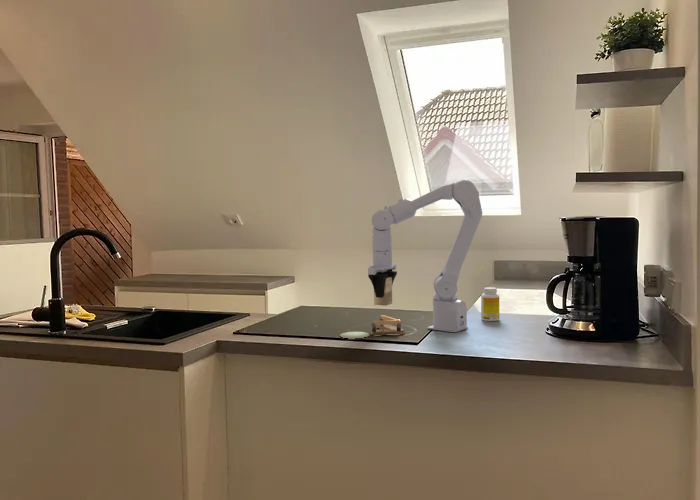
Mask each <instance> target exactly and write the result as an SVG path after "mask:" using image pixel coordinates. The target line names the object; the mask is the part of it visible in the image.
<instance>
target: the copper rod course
mask: <svg viewBox="0 0 700 500" xmlns="http://www.w3.org/2000/svg"><path fill="white" fill-rule="evenodd" d="M395 325H396V326H395ZM377 328H379V329H377ZM380 329H382V330H380ZM402 333H404V334H405V329H403V328H402V320H401V319H397V318H394V317H391V316H388V315H384V314H381V315H380V316H379V320H373V322H371V330H370V335H371V334H372V335H387V334H402ZM372 335H371V336H372ZM402 335H403V334H402Z"/></svg>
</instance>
